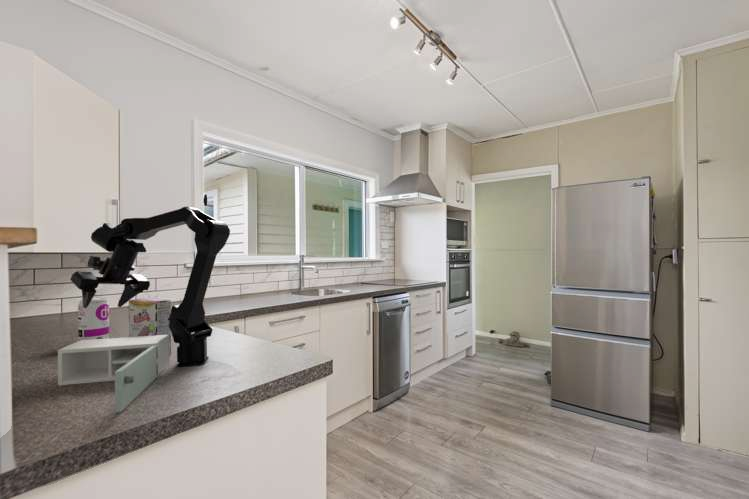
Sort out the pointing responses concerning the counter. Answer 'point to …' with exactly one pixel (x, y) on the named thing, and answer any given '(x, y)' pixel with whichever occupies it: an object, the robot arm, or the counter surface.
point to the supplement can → (93, 320)
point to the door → (135, 377)
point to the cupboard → (106, 357)
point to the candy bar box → (149, 318)
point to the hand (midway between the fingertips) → (102, 307)
